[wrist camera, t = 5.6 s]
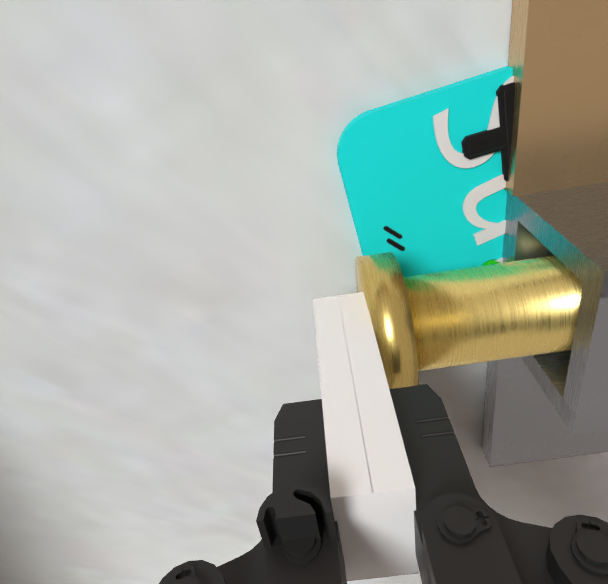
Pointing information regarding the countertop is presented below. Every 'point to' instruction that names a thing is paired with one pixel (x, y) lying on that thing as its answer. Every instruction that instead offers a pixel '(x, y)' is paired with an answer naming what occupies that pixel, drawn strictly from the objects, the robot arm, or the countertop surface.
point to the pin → (467, 313)
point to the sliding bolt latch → (557, 230)
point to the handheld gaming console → (433, 175)
